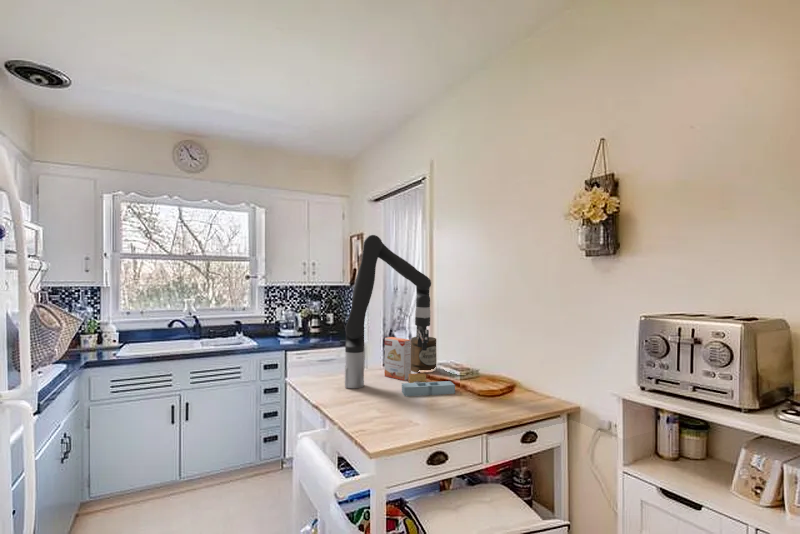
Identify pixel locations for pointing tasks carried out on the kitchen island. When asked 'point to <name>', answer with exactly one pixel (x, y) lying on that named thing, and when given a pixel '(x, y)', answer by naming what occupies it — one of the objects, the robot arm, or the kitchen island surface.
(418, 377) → the clip
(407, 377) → the cracker box
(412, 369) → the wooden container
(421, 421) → the kitchen island surface
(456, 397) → the kitchen island surface
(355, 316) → the robot arm
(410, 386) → the light blue long block
